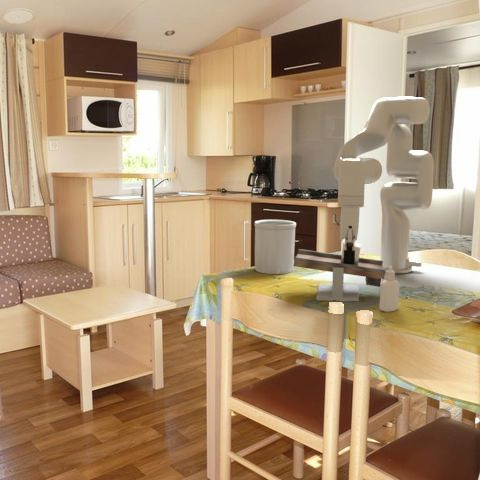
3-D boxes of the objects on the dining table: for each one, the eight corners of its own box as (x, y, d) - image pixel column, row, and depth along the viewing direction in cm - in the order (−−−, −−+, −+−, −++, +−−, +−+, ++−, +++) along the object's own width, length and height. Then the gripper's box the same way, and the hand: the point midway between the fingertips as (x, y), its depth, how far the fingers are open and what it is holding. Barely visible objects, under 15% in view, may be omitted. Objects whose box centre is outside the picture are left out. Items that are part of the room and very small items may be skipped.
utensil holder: (299, 267, 214) (300, 220, 211) (289, 276, 200) (290, 225, 197) (261, 265, 219) (261, 218, 216) (248, 273, 205) (248, 223, 202)
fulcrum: (357, 287, 183) (358, 258, 182) (358, 302, 167) (359, 269, 165) (319, 286, 185) (320, 256, 184) (316, 300, 169) (317, 267, 167)
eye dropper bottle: (376, 307, 161) (377, 265, 159) (396, 307, 161) (397, 264, 159) (381, 312, 157) (383, 268, 155) (401, 311, 157) (403, 268, 155)
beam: (379, 278, 180) (382, 260, 179) (382, 289, 166) (385, 270, 165) (296, 266, 184) (298, 249, 183) (292, 276, 171) (294, 257, 170)
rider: (357, 263, 176) (360, 244, 175) (357, 267, 171) (360, 247, 170) (340, 261, 177) (343, 242, 176) (340, 264, 172) (343, 244, 171)
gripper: (338, 198, 180) (336, 256, 183) (337, 204, 163) (335, 267, 166) (363, 199, 179) (361, 257, 182) (364, 204, 162) (362, 268, 165)
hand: (349, 261), depth 174 cm, fingers closed on rider, 5 cm apart
